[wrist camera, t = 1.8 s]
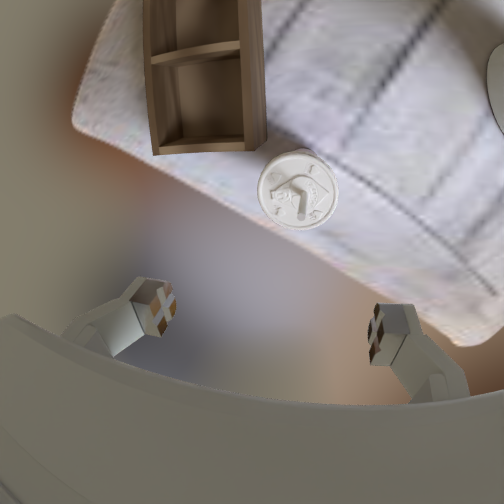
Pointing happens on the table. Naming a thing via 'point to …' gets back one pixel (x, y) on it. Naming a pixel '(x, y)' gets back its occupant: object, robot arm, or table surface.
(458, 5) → the table surface
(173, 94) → the caddy
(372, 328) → the robot arm
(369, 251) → the table surface
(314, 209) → the smoothie
